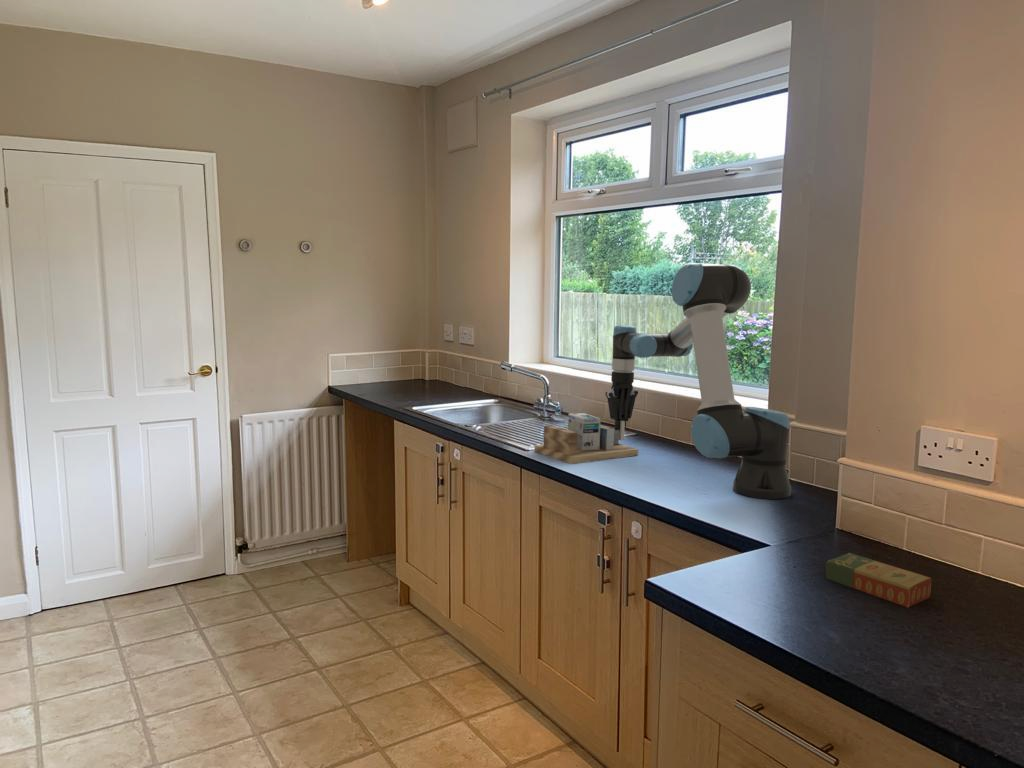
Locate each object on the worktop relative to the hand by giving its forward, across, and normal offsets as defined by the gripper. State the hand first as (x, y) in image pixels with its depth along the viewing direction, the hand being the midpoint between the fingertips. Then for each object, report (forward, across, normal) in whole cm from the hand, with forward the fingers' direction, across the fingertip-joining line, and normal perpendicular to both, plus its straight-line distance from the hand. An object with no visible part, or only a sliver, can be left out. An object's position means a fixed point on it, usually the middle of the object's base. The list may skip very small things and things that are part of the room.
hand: (619, 439), depth 255 cm
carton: (+4, +36, +115) cm, 121 cm away
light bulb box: (+2, +16, 0) cm, 16 cm away
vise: (+3, +15, 0) cm, 15 cm away
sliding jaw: (+1, +7, 0) cm, 7 cm away
